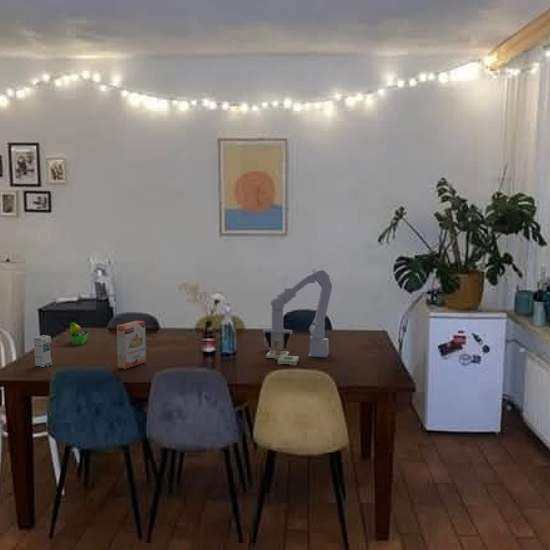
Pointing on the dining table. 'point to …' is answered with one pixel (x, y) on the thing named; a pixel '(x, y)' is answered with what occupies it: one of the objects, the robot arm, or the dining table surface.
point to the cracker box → (131, 344)
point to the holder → (288, 360)
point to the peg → (277, 347)
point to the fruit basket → (78, 334)
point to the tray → (272, 355)
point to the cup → (273, 341)
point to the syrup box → (43, 350)
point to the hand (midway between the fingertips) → (277, 347)
